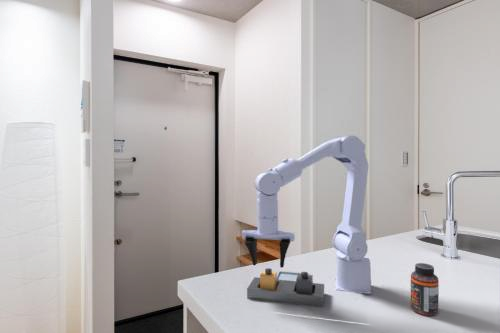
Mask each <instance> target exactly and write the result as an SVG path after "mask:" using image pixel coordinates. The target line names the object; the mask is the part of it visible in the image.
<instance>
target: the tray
mask: <svg viewBox="0 0 500 333" xmlns="http://www.w3.org/2000/svg"><path fill="white" fill-rule="evenodd" d="M276 272H277V280H288V281H296V279H297V276H298V274H301V272H302V271H291V270H289V271H288V270H276ZM307 273H308V275H311V272H307Z"/></svg>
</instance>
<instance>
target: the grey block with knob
mask: <svg viewBox="0 0 500 333" xmlns="http://www.w3.org/2000/svg"><path fill="white" fill-rule="evenodd" d="M300 272H301V274H298V276H297V279H296V292H303V293H312V294H313V283H314V282H313V280H314V278H313V277H314V276H313V275H312V274H310V275H308V273H309V272H307V271H300Z"/></svg>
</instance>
